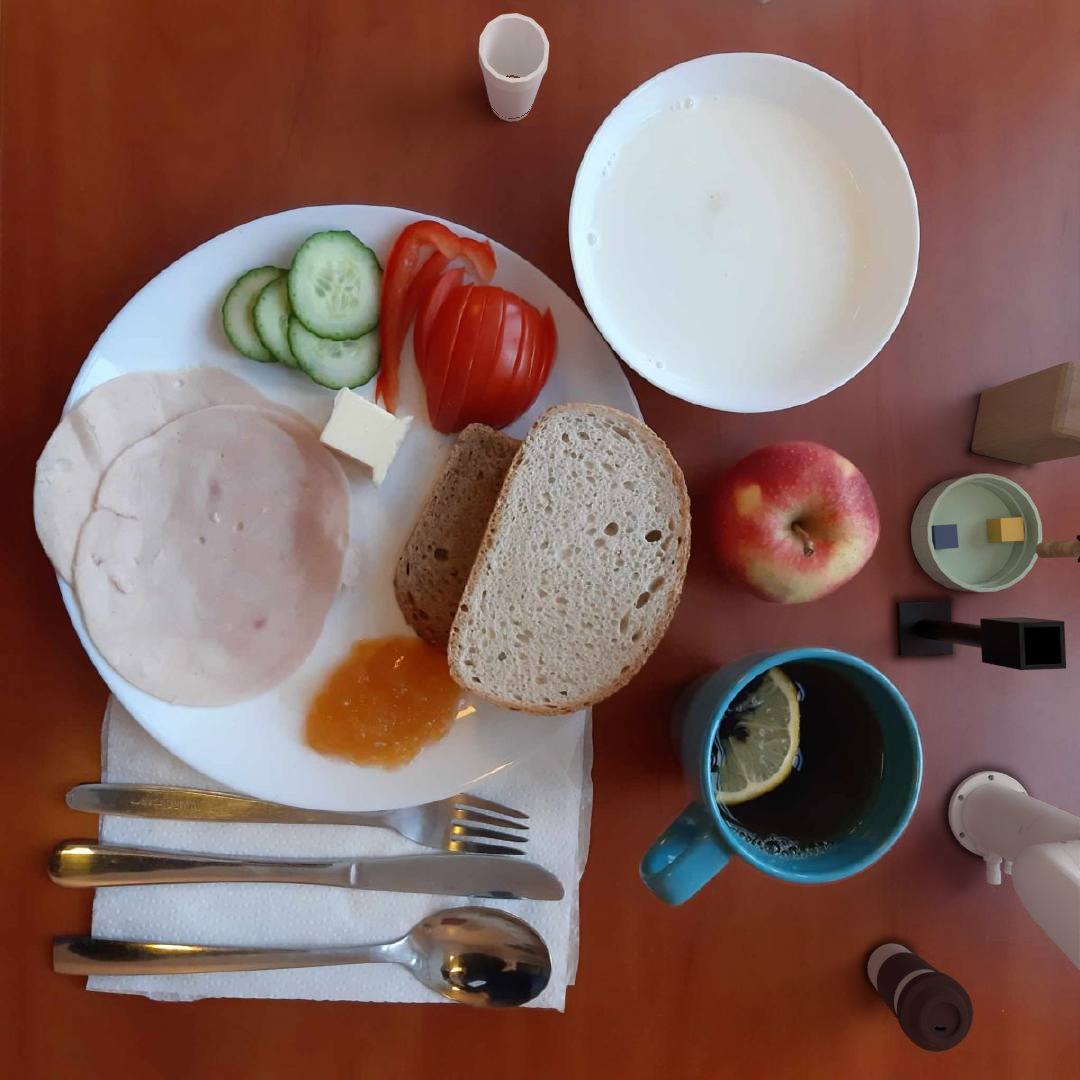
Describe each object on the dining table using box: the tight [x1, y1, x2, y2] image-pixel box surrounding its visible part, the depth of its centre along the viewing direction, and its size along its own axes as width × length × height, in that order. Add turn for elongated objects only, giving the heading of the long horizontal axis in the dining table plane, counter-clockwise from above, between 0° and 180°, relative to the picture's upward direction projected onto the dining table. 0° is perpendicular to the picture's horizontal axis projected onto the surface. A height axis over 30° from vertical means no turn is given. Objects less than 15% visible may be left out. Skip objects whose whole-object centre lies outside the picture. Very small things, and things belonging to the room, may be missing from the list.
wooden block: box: [971, 360, 1080, 466], centre depth 120 cm, size 10×10×20 cm
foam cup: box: [478, 12, 550, 123], centre depth 120 cm, size 10×9×13 cm
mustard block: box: [987, 517, 1024, 543], centre depth 127 cm, size 4×4×4 cm
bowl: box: [910, 473, 1043, 593], centre depth 126 cm, size 17×17×6 cm
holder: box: [895, 600, 1067, 671], centre depth 115 cm, size 8×8×28 cm
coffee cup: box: [867, 943, 974, 1053], centre depth 119 cm, size 10×10×15 cm
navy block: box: [931, 524, 959, 549], centre depth 126 cm, size 4×4×4 cm
